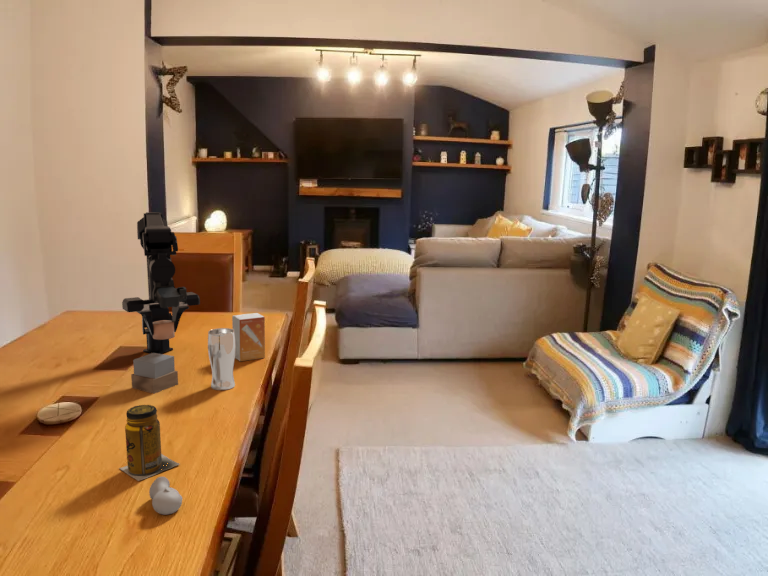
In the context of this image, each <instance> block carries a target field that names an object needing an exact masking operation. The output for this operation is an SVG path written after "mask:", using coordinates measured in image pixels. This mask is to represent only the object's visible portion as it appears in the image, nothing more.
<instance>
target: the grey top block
mask: <svg viewBox="0 0 768 576" xmlns="http://www.w3.org/2000/svg"><path fill="white" fill-rule="evenodd" d="M132 362H133V374H134V375H138V376H143V377H149V378H154V379H156V378H158V377H161V376H163V375H166V374H168V373H170V372H173V371H176V370H175V356H174V355H170V354H163V353H161V354H158V353H148V354H146V355H142V356H140V357H137V358H134V359H133V360H132Z"/></svg>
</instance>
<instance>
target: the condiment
mask: <svg viewBox="0 0 768 576" xmlns="http://www.w3.org/2000/svg"><path fill="white" fill-rule="evenodd" d="M157 411H158V410H157V408H156V407H155V406H154V405H151V404H138V405H134V406H132V407H130V408H129V409H127V410H126V424H125V427H124V431H125V443H126V444H125V445H126V447H125V448H126V460H127V461H126V463H127V465H125V466H123V467H118V469H120V470H121V471H122V472H124V473H125V474H127V475H128V476H130V477H131V478H133V479H135V480H136V481H137V482H139V481H142V480H145V479H147V478H150V477H153V476H155V475H158V474H160V473H162V472H164V471H167V470H169V469H172V468H174V467H176V466H179V465H180V463H179V462H176V461H175V460H172V459H170V458H169V457H168V456H166V455H164V454H163V453H162V440H161V426H160V425H161V423H160V421H159V419H158V414H157ZM167 463H168V464H167ZM163 465H164V466H163ZM166 465H167V466H166ZM161 469H162V470H161Z"/></svg>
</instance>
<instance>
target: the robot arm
mask: <svg viewBox="0 0 768 576" xmlns="http://www.w3.org/2000/svg"><path fill="white" fill-rule="evenodd" d="M136 229H137V230H136V235H137V236H136V237H137V240H139V241H140V246H141V248H142V249H143V252H144V254H143V255H144V257H146V271H147V290H148V299H142V298H140V297H137V296H136V297H126V298H123V300H122V302H121V304H122V305H121V306H122V310H123V311H125V312H126V313H138V314H139V315H141V318H142V319H141V322H142V323H141V326H142V328H141V329H142V334H143V335H146V348H145V349H143V351H142V352H144V353H148V354H151V353H158V354H163V353H167V352H170V351H173V350H174V348H173V347H170V339H164V340H157V339H153V335H154V329H153V322H155V321H161V320H171V321H174V332H175V333H176V332H177V330H178V327H179V324H180V319H181V318H182V315H183V313H184V312H185V311H186V310H188V309H190V306H191V307H192V306H200V305H201V298H200V295H198V293H195V292H193V291H190V292H189V291H188V292H187V287H185V286H180V287H176V286H175V282H174V281H175V280H174V279H173V277H174V276H175V273H176V267H175V264H174V262H173V261H172V257H171V256H177V252H178V251H179V246H178V240H177V239H178V238H177V236H176V234H175V232H174V231H172V229H171V227H170V226H168V221H167V220H166V219H164V217H163V213H162V212H152V211H151V212H149V211H148V212H145V213H143V217H142V218H141V219H139V220H138V221H137V222H136ZM169 308H171V312H170V309H169Z"/></svg>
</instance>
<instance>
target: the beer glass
mask: <svg viewBox="0 0 768 576" xmlns="http://www.w3.org/2000/svg"><path fill="white" fill-rule="evenodd" d="M207 333H208V334H207V351H208V359H209V363H210V368H211V382H210V388H211V389H212V390H215V391H227V390H230V389H233V388H235V386H236V383H235V382H236V381H235V378H234V365H235V360H236V358H235V352H236V343H235V333H234V330H233V328H230V327H220V328H219V327H218V328H212V329H209V331H208V332H207Z"/></svg>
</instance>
